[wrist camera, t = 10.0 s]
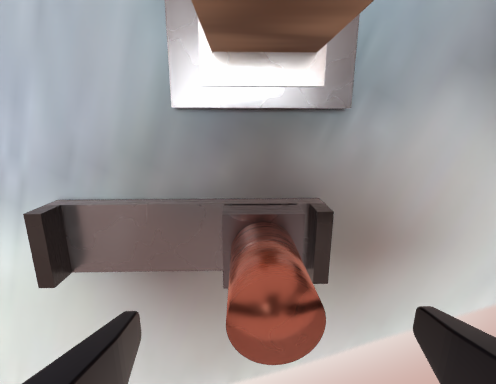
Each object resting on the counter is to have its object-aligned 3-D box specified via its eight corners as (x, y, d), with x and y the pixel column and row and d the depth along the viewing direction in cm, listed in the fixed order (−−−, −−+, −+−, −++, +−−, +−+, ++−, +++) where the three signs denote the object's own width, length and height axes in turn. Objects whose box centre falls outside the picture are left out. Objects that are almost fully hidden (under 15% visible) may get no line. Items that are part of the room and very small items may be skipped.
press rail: (319, 198, 16) (333, 211, 13) (314, 260, 17) (327, 283, 14) (57, 199, 15) (23, 214, 13) (68, 263, 16) (38, 288, 14)
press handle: (298, 205, 15) (343, 266, 8) (294, 272, 16) (333, 373, 9) (223, 205, 14) (211, 268, 8) (225, 272, 15) (215, 375, 9)
